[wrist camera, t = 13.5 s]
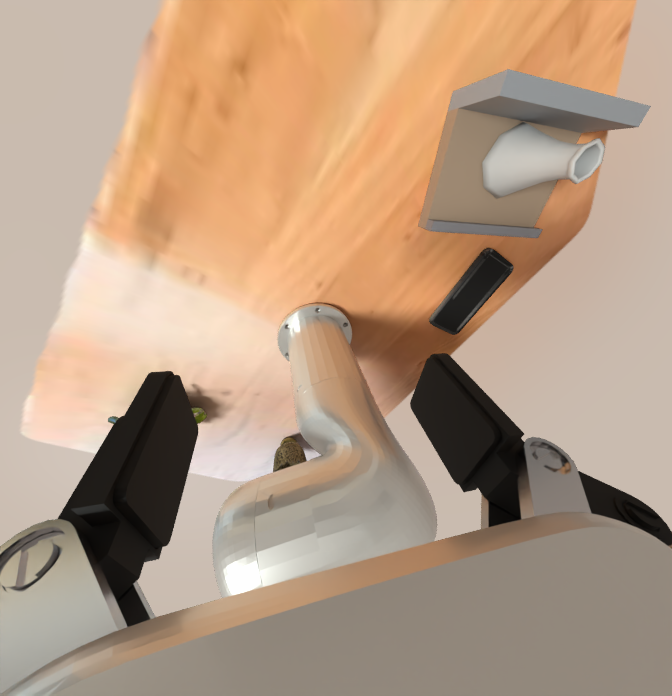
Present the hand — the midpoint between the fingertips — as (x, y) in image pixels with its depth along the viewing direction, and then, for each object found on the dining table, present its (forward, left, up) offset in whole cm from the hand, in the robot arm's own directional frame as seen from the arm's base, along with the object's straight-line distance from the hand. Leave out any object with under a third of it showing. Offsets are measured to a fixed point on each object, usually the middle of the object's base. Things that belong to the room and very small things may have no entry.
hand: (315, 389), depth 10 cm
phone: (-8, -32, -29) cm, 44 cm away
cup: (-45, 0, -28) cm, 53 cm away
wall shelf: (+8, -28, -28) cm, 41 cm away
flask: (+10, -28, -26) cm, 40 cm away
